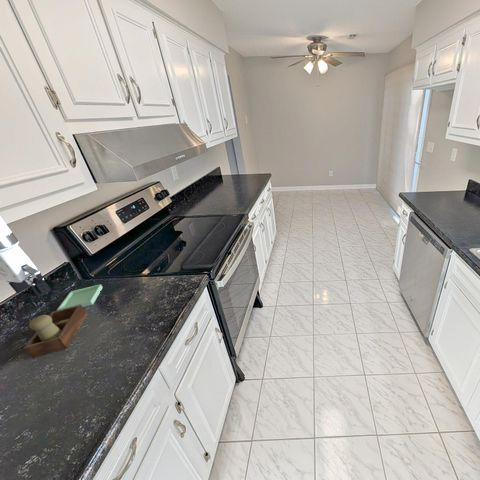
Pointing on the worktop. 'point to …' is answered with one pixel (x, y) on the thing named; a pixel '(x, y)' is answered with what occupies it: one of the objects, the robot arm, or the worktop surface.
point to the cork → (44, 327)
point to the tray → (81, 297)
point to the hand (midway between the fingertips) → (34, 291)
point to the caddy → (68, 324)
